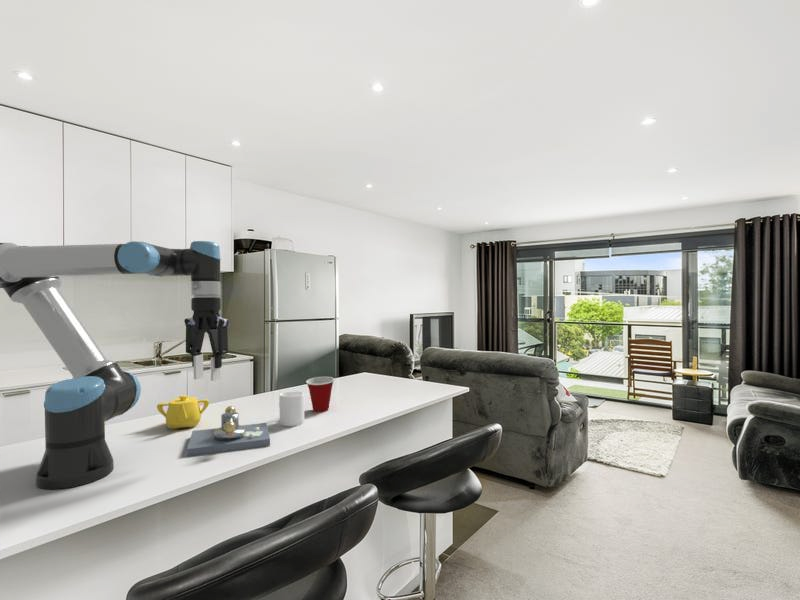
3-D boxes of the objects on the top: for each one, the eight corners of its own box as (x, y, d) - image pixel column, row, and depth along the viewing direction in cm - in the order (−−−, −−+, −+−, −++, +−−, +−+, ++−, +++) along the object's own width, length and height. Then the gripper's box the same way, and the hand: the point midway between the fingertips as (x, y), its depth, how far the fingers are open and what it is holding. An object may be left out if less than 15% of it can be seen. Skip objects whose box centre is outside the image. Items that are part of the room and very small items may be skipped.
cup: (288, 428, 141) (287, 398, 141) (269, 421, 149) (269, 392, 149) (309, 422, 147) (308, 393, 147) (290, 416, 155) (290, 388, 155)
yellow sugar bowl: (214, 423, 147) (214, 393, 147) (180, 434, 136) (180, 402, 136) (187, 418, 153) (187, 390, 153) (153, 428, 142) (153, 397, 142)
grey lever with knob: (215, 425, 136) (215, 406, 136) (245, 422, 140) (245, 403, 140) (212, 447, 117) (211, 425, 117) (246, 443, 120) (246, 421, 120)
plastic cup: (300, 411, 161) (299, 380, 161) (318, 405, 170) (317, 375, 170) (322, 415, 156) (322, 383, 156) (340, 408, 165) (340, 377, 165)
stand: (186, 456, 117) (186, 444, 117) (192, 437, 133) (192, 427, 133) (270, 445, 125) (269, 434, 125) (266, 428, 141) (266, 419, 141)
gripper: (169, 296, 119) (170, 379, 119) (222, 296, 113) (223, 383, 113) (191, 296, 126) (191, 374, 126) (242, 296, 120) (242, 378, 120)
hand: (207, 378), depth 119 cm, fingers open, 5 cm apart
